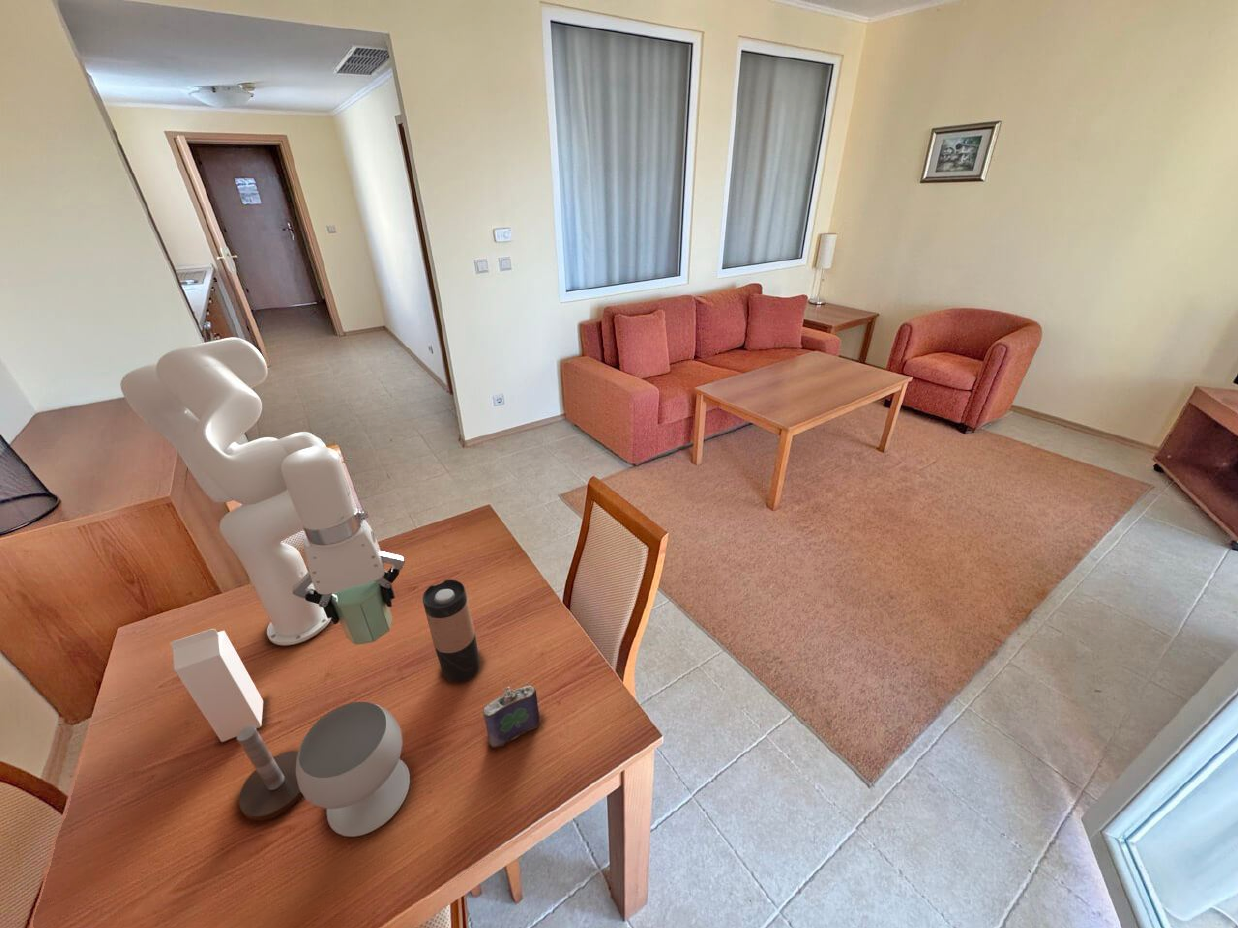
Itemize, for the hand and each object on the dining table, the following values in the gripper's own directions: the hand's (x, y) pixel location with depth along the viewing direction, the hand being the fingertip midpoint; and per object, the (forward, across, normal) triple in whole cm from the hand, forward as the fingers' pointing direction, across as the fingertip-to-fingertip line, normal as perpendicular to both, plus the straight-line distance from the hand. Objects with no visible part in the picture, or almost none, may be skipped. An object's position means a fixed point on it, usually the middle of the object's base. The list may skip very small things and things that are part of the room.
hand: (363, 609), depth 84 cm
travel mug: (+22, -13, 0) cm, 26 cm away
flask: (+22, -19, +18) cm, 34 cm away
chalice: (+22, +5, +18) cm, 29 cm away
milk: (+22, +25, -6) cm, 34 cm away
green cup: (+4, 0, 0) cm, 4 cm away
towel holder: (+22, +18, +10) cm, 30 cm away
